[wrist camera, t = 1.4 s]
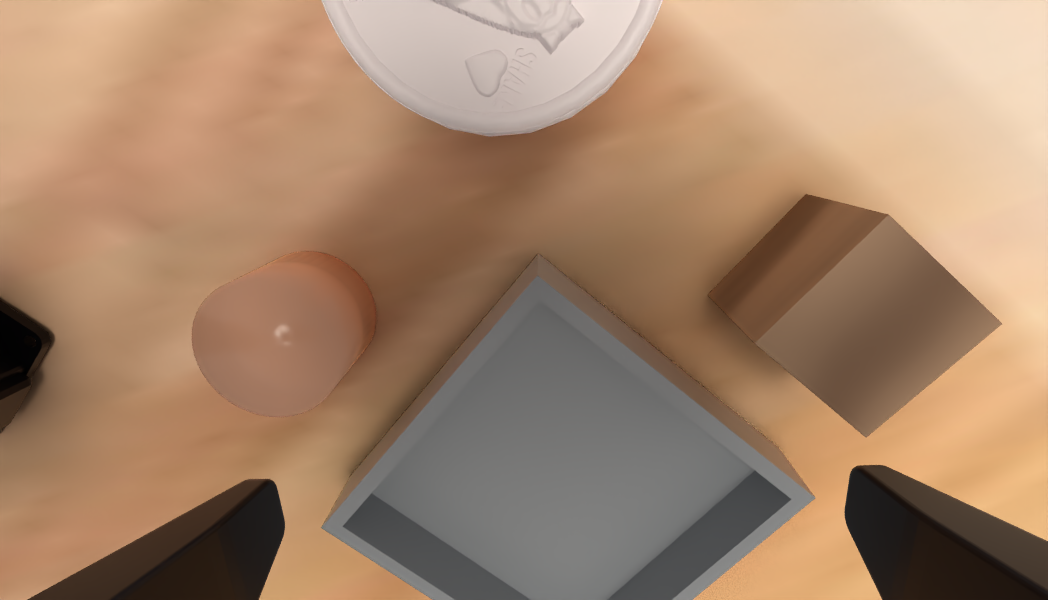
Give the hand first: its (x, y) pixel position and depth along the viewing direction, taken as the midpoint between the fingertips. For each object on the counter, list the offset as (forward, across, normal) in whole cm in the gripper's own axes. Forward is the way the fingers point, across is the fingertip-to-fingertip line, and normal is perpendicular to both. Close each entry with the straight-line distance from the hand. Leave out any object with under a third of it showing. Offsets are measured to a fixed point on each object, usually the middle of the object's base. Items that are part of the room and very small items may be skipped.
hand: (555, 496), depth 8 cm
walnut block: (+13, -10, +1) cm, 16 cm away
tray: (+13, 0, +8) cm, 15 cm away
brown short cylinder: (+13, +10, +1) cm, 16 cm away
